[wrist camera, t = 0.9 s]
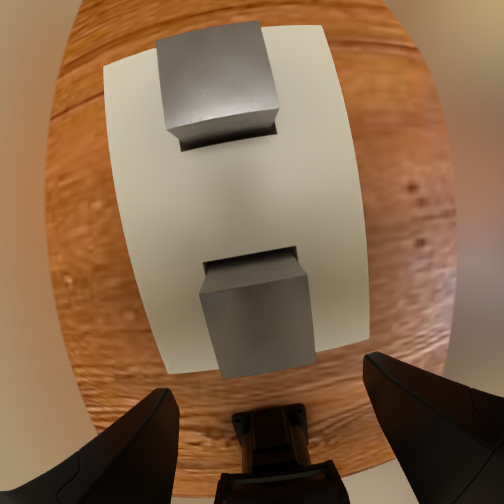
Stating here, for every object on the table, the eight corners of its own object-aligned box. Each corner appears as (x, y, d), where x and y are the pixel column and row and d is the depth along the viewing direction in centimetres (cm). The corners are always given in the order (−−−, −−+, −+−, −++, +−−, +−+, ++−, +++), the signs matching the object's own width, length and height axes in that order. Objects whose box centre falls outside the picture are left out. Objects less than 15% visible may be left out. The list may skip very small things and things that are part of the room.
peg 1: (267, 134, 14) (279, 108, 9) (191, 149, 14) (166, 129, 9) (253, 68, 13) (258, 20, 8) (180, 82, 13) (156, 40, 8)
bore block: (342, 306, 20) (369, 339, 15) (183, 334, 20) (168, 373, 15) (303, 60, 16) (321, 25, 11) (133, 91, 16) (103, 66, 11)
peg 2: (296, 314, 16) (316, 363, 11) (227, 326, 16) (222, 379, 11) (286, 246, 15) (307, 274, 10) (212, 260, 15) (198, 293, 10)
